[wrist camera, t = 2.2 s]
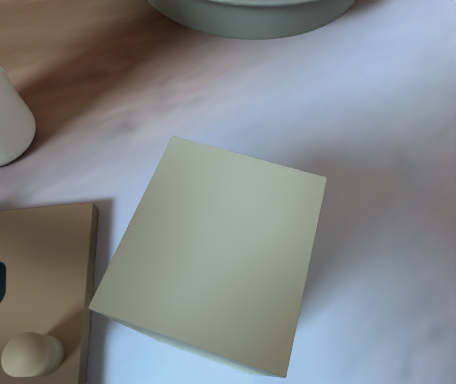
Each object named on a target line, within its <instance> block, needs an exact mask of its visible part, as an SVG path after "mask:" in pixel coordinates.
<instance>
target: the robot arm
mask: <svg viewBox="0 0 456 384" xmlns="http://www.w3.org/2000/svg"><path fill="white" fill-rule="evenodd" d="M6 270H7V269H6V265H5V263H3V262H1V261H0V303H1V302H2V300H3V298H4V296H5V294H6Z"/></svg>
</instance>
